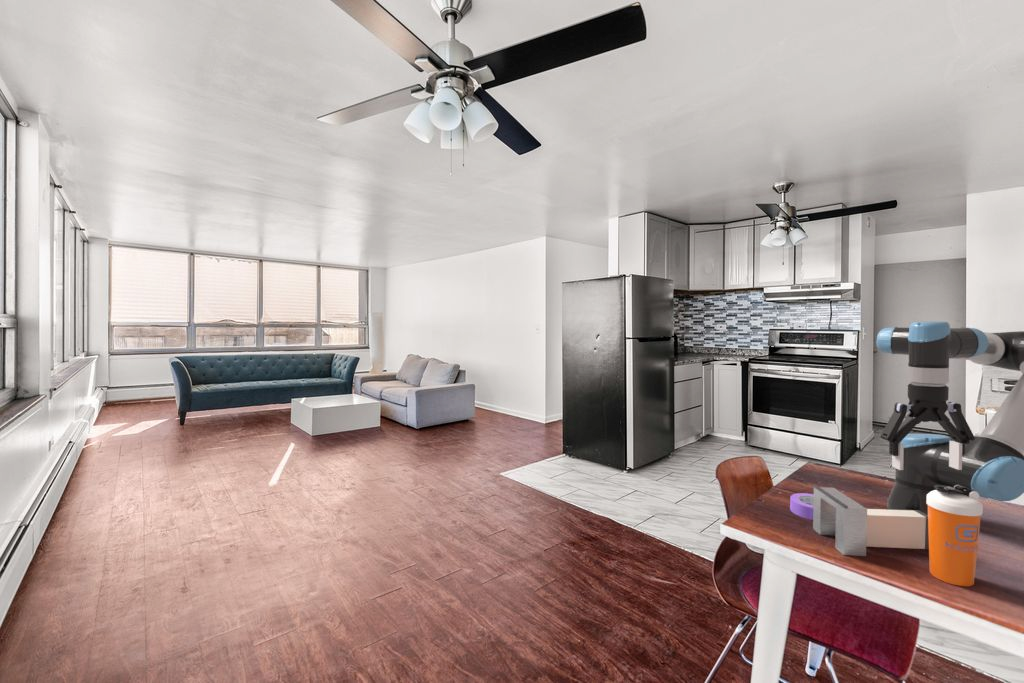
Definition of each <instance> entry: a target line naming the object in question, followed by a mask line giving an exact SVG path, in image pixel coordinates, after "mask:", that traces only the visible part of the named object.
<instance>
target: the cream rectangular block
mask: <svg viewBox="0 0 1024 683" xmlns="http://www.w3.org/2000/svg"><path fill="white" fill-rule="evenodd" d="M866 509H867V539H866V548H867V547H868V548H869V547H871V548H872V547H873V548H892V549H895V548H897V549H915V550H916V549H917V550H920V549H921V550H929V534H928V515H927V514H925V513H923V512H921V511H919V510H889V509H886V508H884V509H882V508H881V509H880V508H866Z"/></svg>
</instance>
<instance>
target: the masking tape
mask: <svg viewBox="0 0 1024 683" xmlns="http://www.w3.org/2000/svg"><path fill="white" fill-rule="evenodd" d="M789 499H790V505H789V510H790V511H791V512H792V513H793V514H794V515H796V516H797V517H800V518H803V519H806V520H812V521H813V503H814V493H806V492H805V493H803V492H801V493H800V492H798V493H794V494H792V495H790V498H789Z"/></svg>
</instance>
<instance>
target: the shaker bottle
mask: <svg viewBox="0 0 1024 683" xmlns="http://www.w3.org/2000/svg"><path fill="white" fill-rule="evenodd" d="M934 488H935V489H936V490H933V491H931V492H929V493H928V494H927V498H926V504H927V505H928V534H929V549H928V558H929V560H928V561H929V573H930V574H931V576H933V577H934V578H935V579H937V580H938V581H939V580H940V581H942V582H944V583H947V584H950V585H953V586H958V587H959V586H960V587H971V586H973V585H974V584H975V577H976V569H977V568H976V567H977V557H978V546H979V540H980V539H979V537H980V529H981V518H982V516H983V513H984V512H983V510H984V509H983V508H984V505H983V504H982V503H981V501H980V497H979V494H978V493H977V492H976V491H973V490H971V489H968V488H966V487H963V486H961V485H956V486H954V487H950V486H942V485H935V486H934Z"/></svg>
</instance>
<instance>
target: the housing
mask: <svg viewBox="0 0 1024 683" xmlns="http://www.w3.org/2000/svg"><path fill="white" fill-rule="evenodd" d="M812 487H813V494H814V503H813V520H812V529H813V530H814V531H815V532H816V533H818V535H821V536H835V538H834V539H835V540H834V541H835V544H834V546H835V547H834V548H835V549H836V550H837V551H838V552H839V553H841V554H842V555H843V556H854V557H855V556H856V557H857V556H860V557H866V556H867V547H866V539H867V509H868V508H867V507H865V506H863V505H861V504H860V503H858V502H857V501H855V500H854V499H853V498H851V497H849V496H847V495H846V494H844V493H843V492H841V491H840V490H838V489H836V488H835V487H825V486H824V487H821V486H818V485H817V484H813V486H812Z"/></svg>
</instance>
